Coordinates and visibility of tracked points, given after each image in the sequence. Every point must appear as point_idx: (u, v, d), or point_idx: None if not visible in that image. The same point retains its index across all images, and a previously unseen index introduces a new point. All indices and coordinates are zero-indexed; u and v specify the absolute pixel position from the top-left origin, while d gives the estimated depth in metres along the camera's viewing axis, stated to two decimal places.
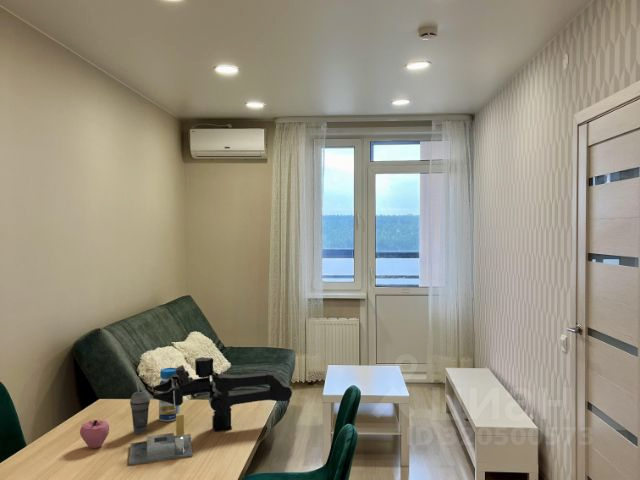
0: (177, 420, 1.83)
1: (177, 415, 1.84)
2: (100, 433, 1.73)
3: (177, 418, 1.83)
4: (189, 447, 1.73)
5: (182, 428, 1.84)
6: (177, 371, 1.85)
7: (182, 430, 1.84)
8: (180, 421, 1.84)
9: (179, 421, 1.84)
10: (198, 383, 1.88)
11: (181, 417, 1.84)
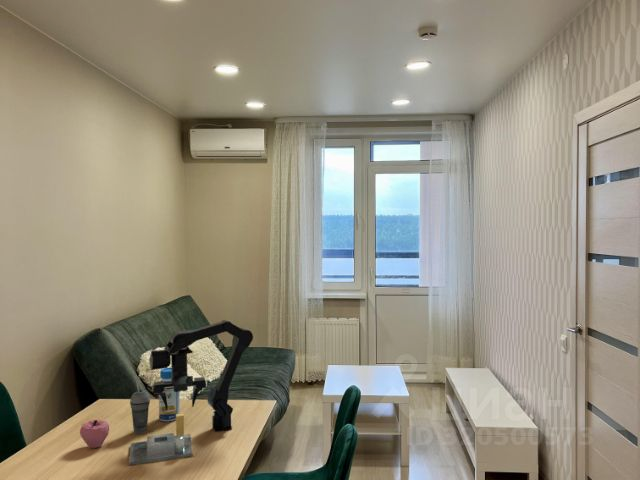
0: (177, 420, 1.83)
1: (177, 415, 1.84)
2: (100, 433, 1.73)
3: (177, 418, 1.83)
4: (189, 447, 1.73)
5: (182, 428, 1.84)
6: (186, 388, 1.79)
7: (182, 430, 1.84)
8: (179, 421, 1.84)
9: (179, 421, 1.84)
10: (176, 366, 1.82)
11: (181, 417, 1.84)
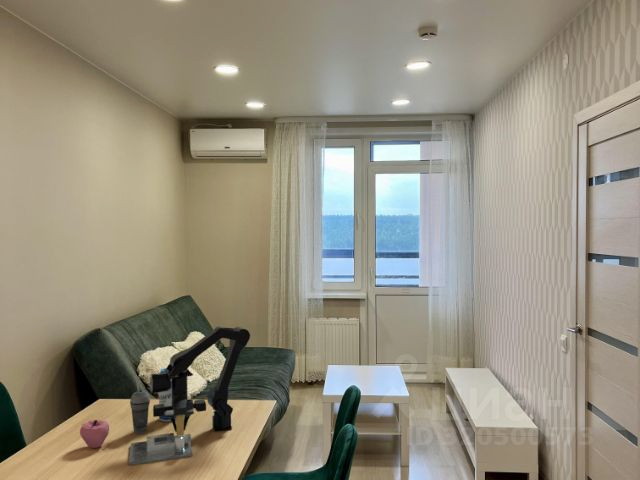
0: (177, 420, 1.83)
1: None
2: (100, 433, 1.73)
3: (177, 418, 1.83)
4: (189, 447, 1.73)
5: (182, 428, 1.84)
6: (186, 412, 1.79)
7: (182, 430, 1.84)
8: (179, 421, 1.84)
9: (179, 421, 1.84)
10: (176, 389, 1.82)
11: (181, 417, 1.84)
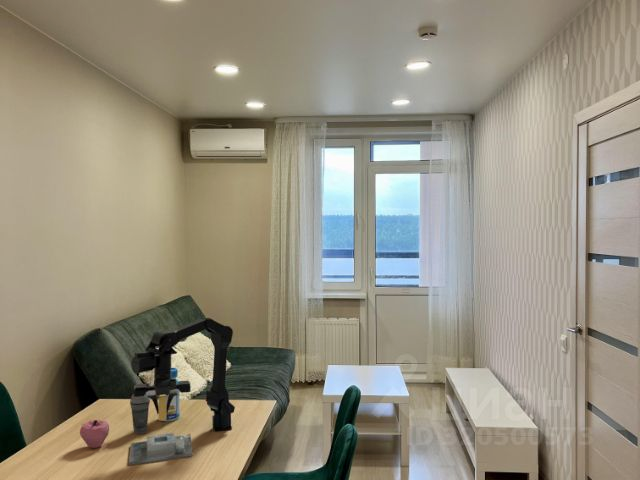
0: (159, 401, 1.73)
1: (160, 396, 1.74)
2: (100, 433, 1.73)
3: (159, 399, 1.73)
4: (189, 447, 1.73)
5: (165, 410, 1.73)
6: (169, 392, 1.68)
7: (164, 412, 1.73)
8: (162, 402, 1.73)
9: (161, 402, 1.73)
10: (161, 368, 1.71)
11: (164, 398, 1.73)
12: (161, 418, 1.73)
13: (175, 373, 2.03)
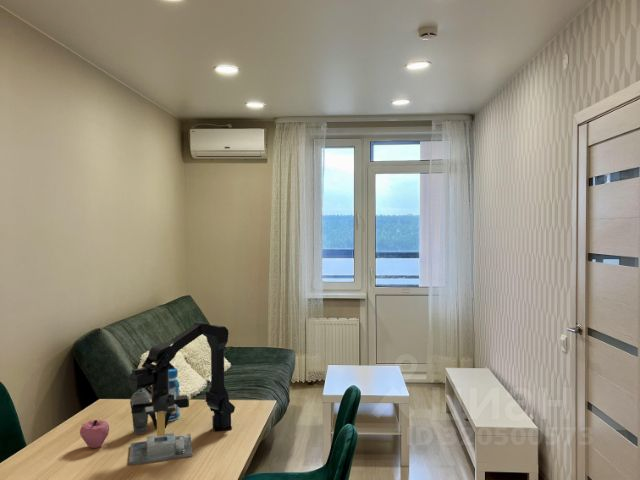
0: (157, 417, 1.71)
1: (158, 412, 1.72)
2: (100, 433, 1.73)
3: (157, 415, 1.71)
4: (189, 447, 1.73)
5: (163, 425, 1.71)
6: (167, 408, 1.66)
7: (163, 428, 1.71)
8: (160, 418, 1.71)
9: (159, 417, 1.71)
10: (159, 383, 1.70)
11: (162, 414, 1.71)
12: (160, 434, 1.71)
13: (175, 373, 2.03)
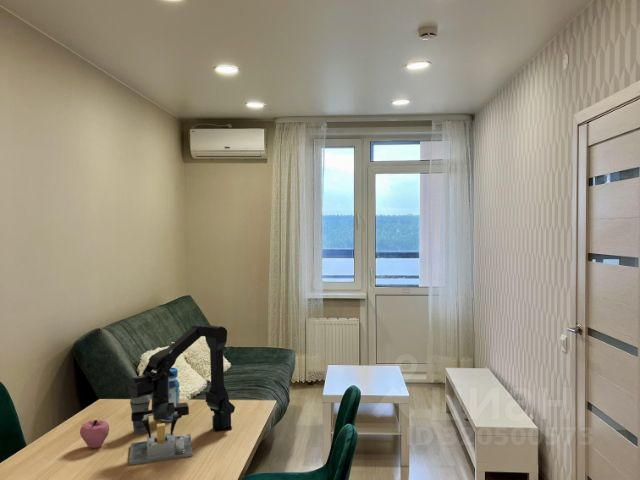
0: (158, 431, 1.71)
1: (158, 425, 1.72)
2: (100, 433, 1.73)
3: (158, 428, 1.71)
4: (189, 447, 1.73)
5: (163, 439, 1.71)
6: (167, 416, 1.66)
7: None
8: (161, 431, 1.71)
9: (160, 431, 1.71)
10: (159, 391, 1.70)
11: (162, 427, 1.71)
12: None
13: (175, 373, 2.03)
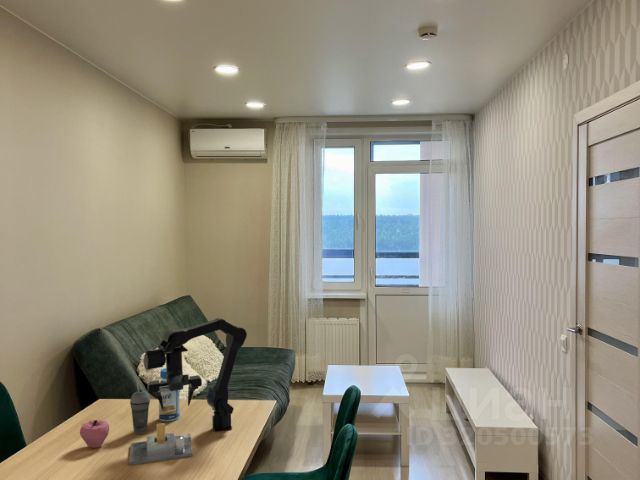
0: (158, 431, 1.71)
1: (158, 425, 1.72)
2: (100, 433, 1.73)
3: (158, 428, 1.71)
4: (189, 447, 1.73)
5: (163, 439, 1.71)
6: (182, 387, 1.76)
7: None
8: (160, 431, 1.71)
9: (160, 431, 1.71)
10: (171, 364, 1.80)
11: (162, 427, 1.71)
12: None
13: None
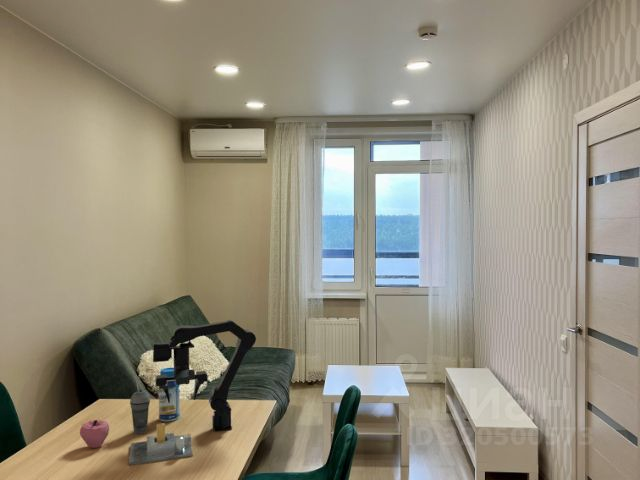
0: (158, 431, 1.71)
1: (158, 425, 1.72)
2: (100, 433, 1.73)
3: (158, 428, 1.71)
4: (189, 447, 1.73)
5: (163, 439, 1.71)
6: (188, 382, 1.82)
7: None
8: (160, 431, 1.71)
9: (160, 431, 1.71)
10: (177, 359, 1.85)
11: (162, 427, 1.71)
12: None
13: None
